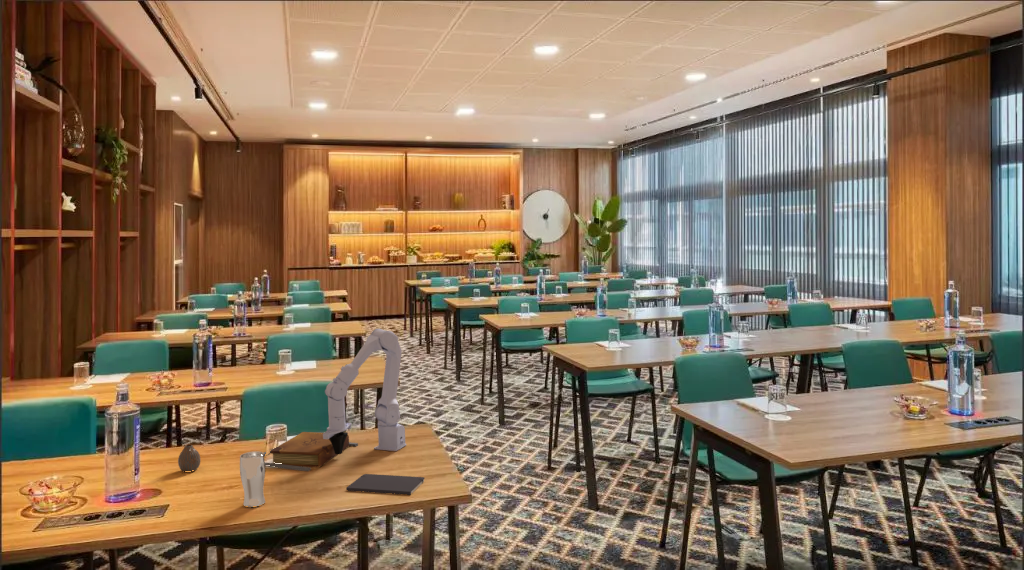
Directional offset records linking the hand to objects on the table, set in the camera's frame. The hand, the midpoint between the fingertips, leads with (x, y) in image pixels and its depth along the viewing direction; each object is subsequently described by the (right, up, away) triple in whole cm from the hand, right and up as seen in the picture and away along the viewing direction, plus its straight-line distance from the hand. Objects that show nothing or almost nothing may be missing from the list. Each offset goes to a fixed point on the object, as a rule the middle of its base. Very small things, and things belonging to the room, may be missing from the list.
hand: (338, 453), depth 246 cm
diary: (-11, -2, +4) cm, 12 cm away
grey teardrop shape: (-49, -4, -9) cm, 49 cm away
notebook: (+22, -4, -28) cm, 36 cm away
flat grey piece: (-14, -2, +6) cm, 16 cm away
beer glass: (-15, -5, -41) cm, 44 cm away
